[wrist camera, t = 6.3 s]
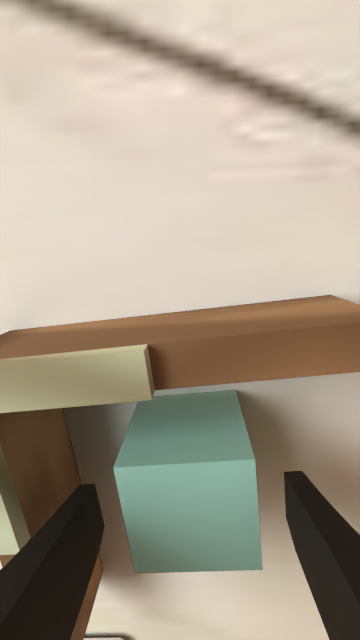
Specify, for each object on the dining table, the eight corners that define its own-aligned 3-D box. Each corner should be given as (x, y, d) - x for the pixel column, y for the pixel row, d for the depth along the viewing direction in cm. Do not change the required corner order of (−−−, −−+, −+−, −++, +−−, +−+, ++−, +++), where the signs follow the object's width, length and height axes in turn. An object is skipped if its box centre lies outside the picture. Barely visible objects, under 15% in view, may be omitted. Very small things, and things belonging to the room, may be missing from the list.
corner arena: (330, 562, 15) (385, 693, 11) (77, 572, 16) (33, 693, 12) (330, 294, 12) (412, 324, 7) (9, 330, 13) (-88, 374, 8)
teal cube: (235, 388, 13) (255, 459, 9) (241, 470, 14) (262, 569, 10) (139, 396, 13) (112, 468, 9) (153, 475, 15) (135, 573, 10)
